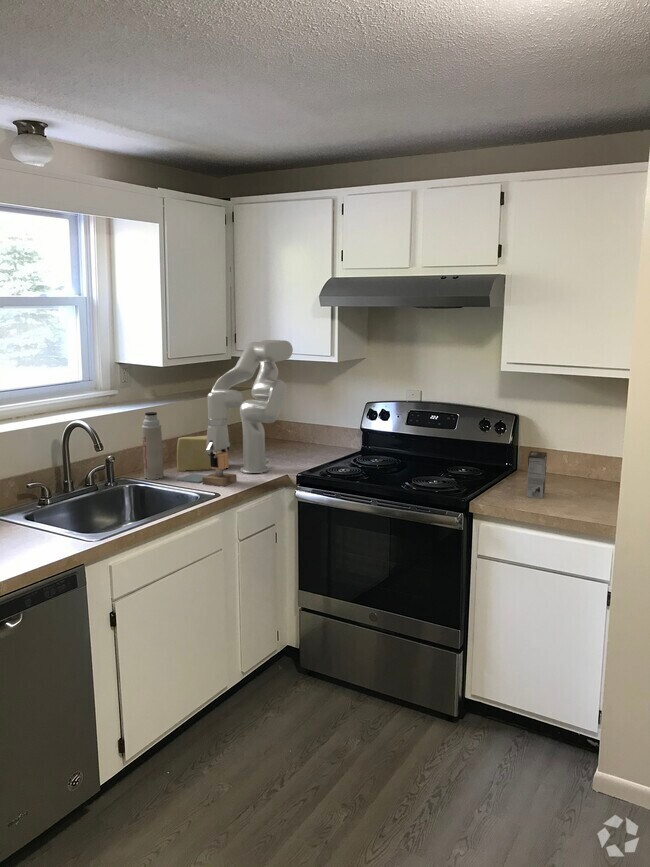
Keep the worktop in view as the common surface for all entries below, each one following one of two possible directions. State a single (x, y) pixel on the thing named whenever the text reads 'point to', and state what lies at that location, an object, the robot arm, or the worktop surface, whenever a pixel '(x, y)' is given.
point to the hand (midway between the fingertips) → (219, 464)
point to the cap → (222, 460)
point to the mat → (192, 478)
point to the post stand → (219, 478)
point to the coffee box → (536, 474)
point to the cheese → (193, 454)
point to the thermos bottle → (152, 447)
